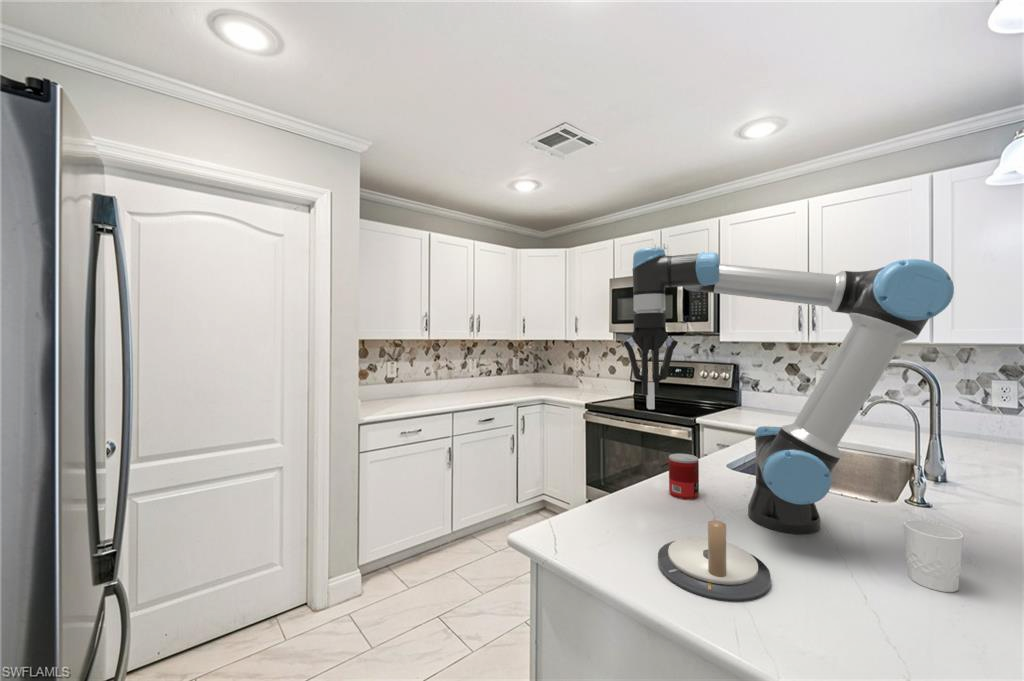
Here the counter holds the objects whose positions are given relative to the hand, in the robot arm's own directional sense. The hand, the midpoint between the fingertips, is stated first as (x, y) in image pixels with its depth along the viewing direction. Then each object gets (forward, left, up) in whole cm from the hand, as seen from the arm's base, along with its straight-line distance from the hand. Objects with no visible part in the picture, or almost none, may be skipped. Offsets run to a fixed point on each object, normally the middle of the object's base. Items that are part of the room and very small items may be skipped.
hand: (650, 408), depth 107 cm
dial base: (-8, +21, -28) cm, 36 cm away
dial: (-8, +21, -27) cm, 35 cm away
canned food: (-12, -20, -29) cm, 37 cm away
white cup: (-47, +20, -29) cm, 59 cm away
